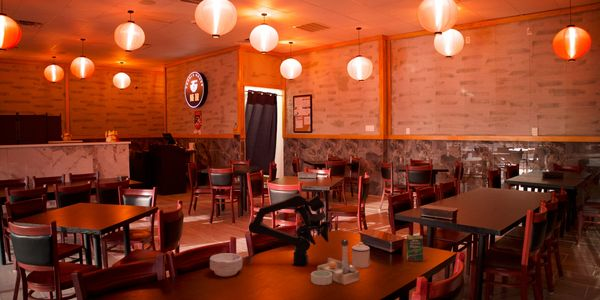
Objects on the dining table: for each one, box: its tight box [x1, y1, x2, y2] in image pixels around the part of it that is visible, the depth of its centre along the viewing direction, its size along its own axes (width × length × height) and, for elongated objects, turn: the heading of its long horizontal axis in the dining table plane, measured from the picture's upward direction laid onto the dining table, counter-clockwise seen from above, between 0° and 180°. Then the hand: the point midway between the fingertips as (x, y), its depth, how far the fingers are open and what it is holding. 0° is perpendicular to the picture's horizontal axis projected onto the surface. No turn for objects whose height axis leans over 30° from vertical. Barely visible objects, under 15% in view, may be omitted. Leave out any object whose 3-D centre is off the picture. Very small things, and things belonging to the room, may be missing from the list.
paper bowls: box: [209, 252, 243, 277], centre depth 209 cm, size 15×15×8 cm
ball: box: [329, 261, 336, 269], centre depth 203 cm, size 4×4×4 cm
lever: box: [327, 238, 356, 274], centre depth 201 cm, size 17×7×15 cm, turn 39°
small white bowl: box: [310, 270, 333, 286], centre depth 197 cm, size 9×9×4 cm
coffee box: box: [406, 234, 424, 262], centre depth 226 cm, size 8×3×13 cm, turn 82°
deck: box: [317, 262, 360, 285], centre depth 202 cm, size 18×9×4 cm, turn 39°
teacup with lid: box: [351, 241, 371, 269], centre depth 221 cm, size 12×9×12 cm
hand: (321, 243), depth 211 cm, fingers open, 8 cm apart
